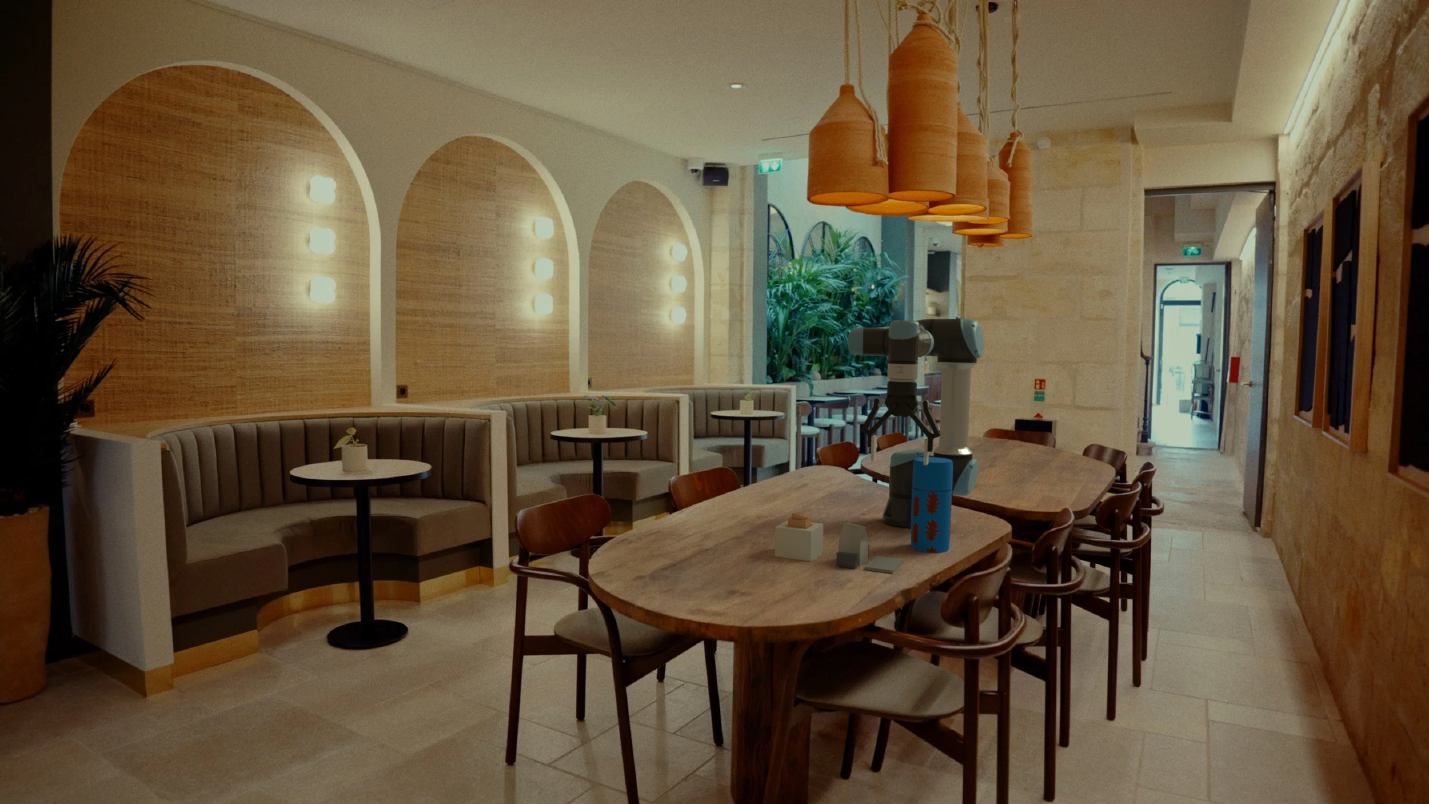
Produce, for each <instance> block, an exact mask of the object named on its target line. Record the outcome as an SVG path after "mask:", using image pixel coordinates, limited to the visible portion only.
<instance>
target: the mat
mask: <svg viewBox="0 0 1429 804" xmlns="http://www.w3.org/2000/svg"><path fill="white" fill-rule="evenodd" d="M904 561H905V559H904V558H898V557H897V558H896V557H888V556H880V555H876V557H874V559H873V560H871V561H870V562H868V563H867V564H866V566H865V568H864V569H865V571H870V570H872V571H871V572H877V573H878V572H879V573H887V574H892V575H893V574H894V573H895V572H897V570H898V569H899V568H900V567H901V566H902V565H903V563H904Z"/></svg>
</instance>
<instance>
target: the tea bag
mask: <svg viewBox="0 0 1429 804" xmlns="http://www.w3.org/2000/svg"><path fill="white" fill-rule="evenodd" d="M869 543H870V542H869V538H868V534H867V527H866V526H864V525H859V524H854V523H849V522H845V521H843V524H842V528H841V531H840V535H839V538H838V552H846V553H854V554H858V561H857V566H858V565H859V567H860V565H861V566H864V565H868V564H869V558H868V544H869Z"/></svg>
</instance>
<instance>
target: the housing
mask: <svg viewBox="0 0 1429 804" xmlns="http://www.w3.org/2000/svg"><path fill="white" fill-rule="evenodd" d="M774 536H775V537H774V538H775V540H774V542H775V543H774V545H775V546H774V557H776V558H785V559H790V560H798V561H807V562H812V561H813V560H814V559H816V558H817V557H819V556H820V555H822V554H823V553H824V552H823V548H824V547H823V544H824V543H823V542H824V523H819V522H812V526H811V527H809V528H807V529H803V528H795V527H788V520H785V521H784V522H782V523H780V524H778V525H777V526H775V535H774Z"/></svg>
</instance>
